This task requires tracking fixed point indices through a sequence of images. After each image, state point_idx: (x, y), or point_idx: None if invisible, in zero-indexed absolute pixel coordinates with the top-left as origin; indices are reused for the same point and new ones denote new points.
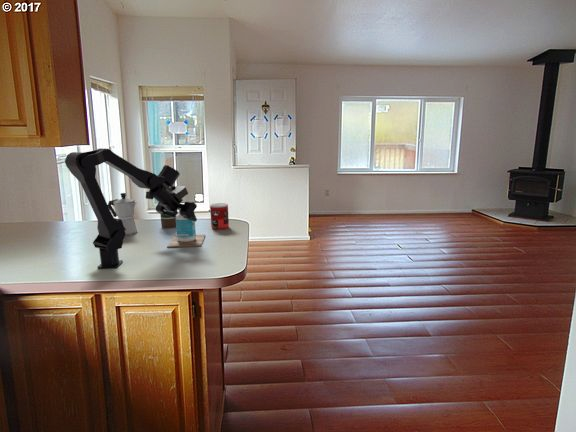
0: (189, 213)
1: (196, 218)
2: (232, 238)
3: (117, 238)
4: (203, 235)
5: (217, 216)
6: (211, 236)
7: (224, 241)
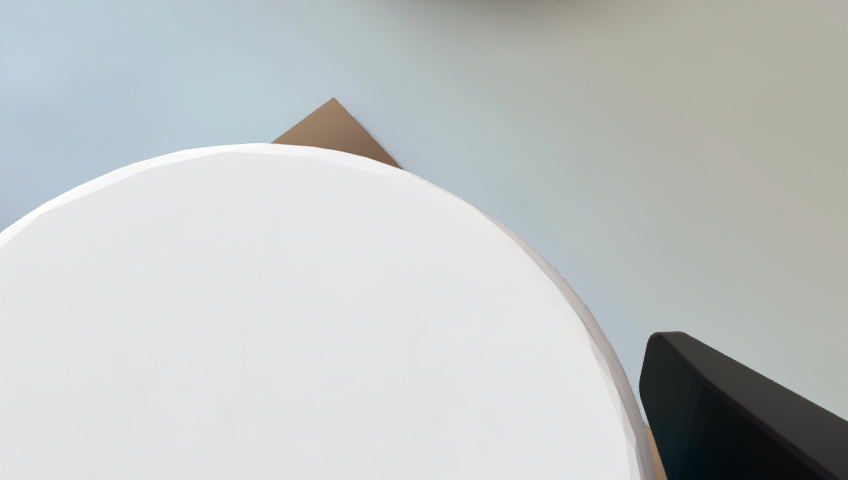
0: None
1: (720, 355)
2: (731, 28)
3: None
4: (356, 148)
5: None
6: (435, 89)
7: (769, 171)
